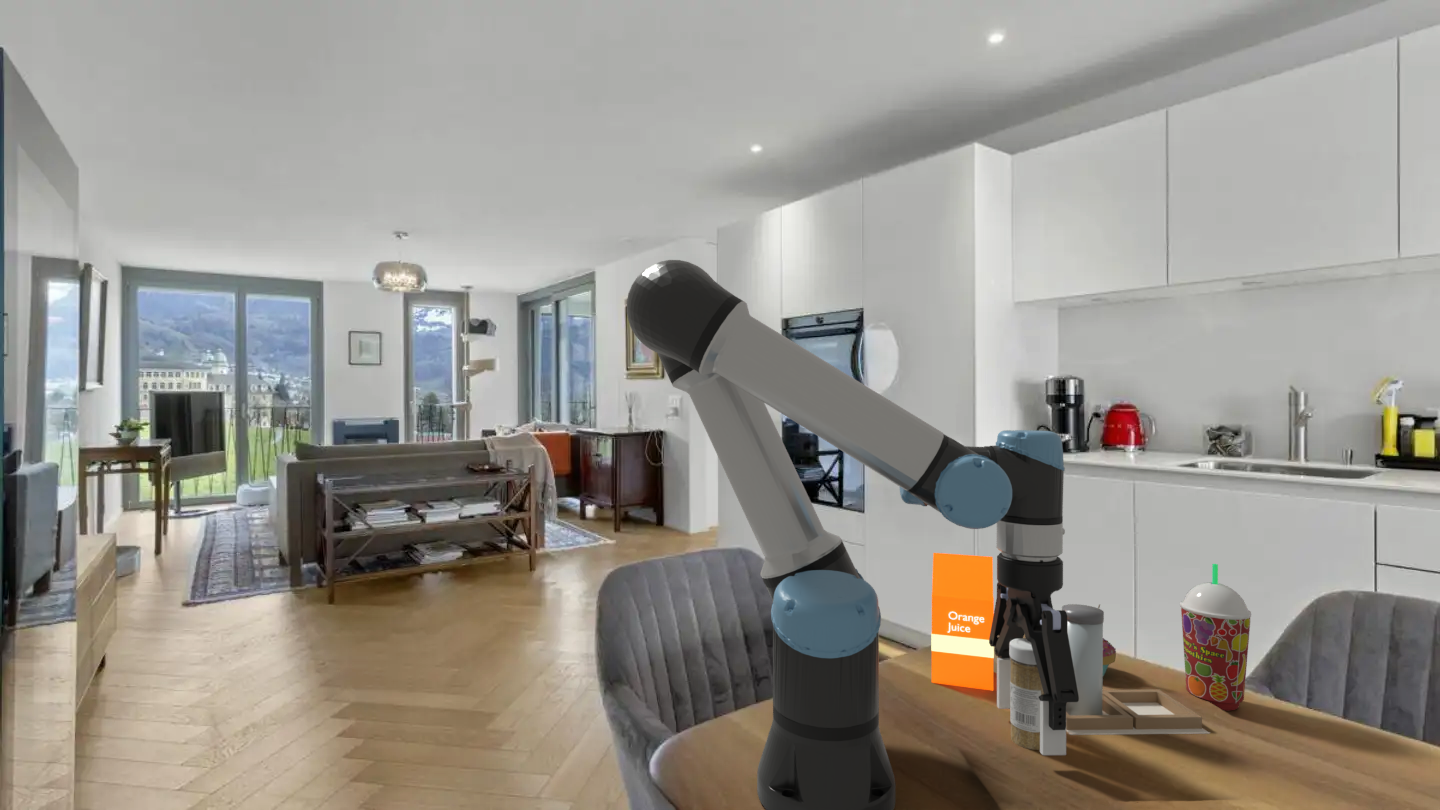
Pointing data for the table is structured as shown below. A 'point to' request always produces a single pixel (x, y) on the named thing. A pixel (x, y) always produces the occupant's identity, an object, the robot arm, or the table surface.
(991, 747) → the table surface
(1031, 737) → the spice jar
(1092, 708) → the white bottle
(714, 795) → the table surface
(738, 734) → the table surface
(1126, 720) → the frame
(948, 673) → the orange juice
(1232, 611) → the smoothie
